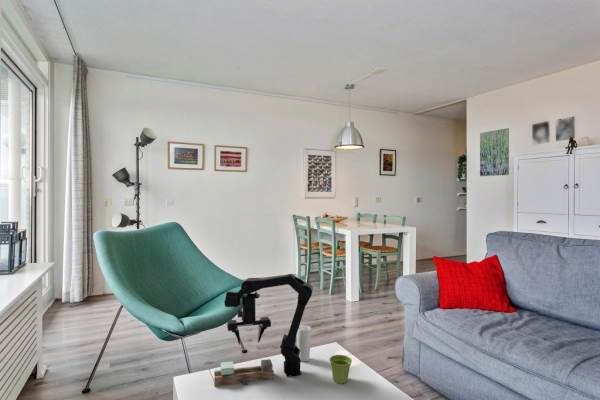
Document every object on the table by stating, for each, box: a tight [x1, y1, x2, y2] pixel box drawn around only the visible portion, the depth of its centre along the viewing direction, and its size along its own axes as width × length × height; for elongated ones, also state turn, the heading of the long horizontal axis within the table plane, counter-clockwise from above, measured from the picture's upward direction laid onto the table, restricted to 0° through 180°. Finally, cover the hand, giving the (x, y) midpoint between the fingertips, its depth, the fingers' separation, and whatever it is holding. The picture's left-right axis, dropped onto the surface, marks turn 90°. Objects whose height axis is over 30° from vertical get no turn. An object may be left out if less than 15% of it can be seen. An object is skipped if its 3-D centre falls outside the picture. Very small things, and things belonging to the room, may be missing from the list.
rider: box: [220, 361, 235, 375], centre depth 146 cm, size 5×6×4 cm
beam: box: [213, 358, 275, 387], centre depth 148 cm, size 24×9×6 cm, turn 104°
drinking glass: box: [296, 324, 312, 363], centre depth 167 cm, size 7×7×15 cm
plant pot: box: [329, 354, 353, 385], centre depth 148 cm, size 9×9×9 cm
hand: (249, 343), depth 156 cm, fingers open, 8 cm apart
